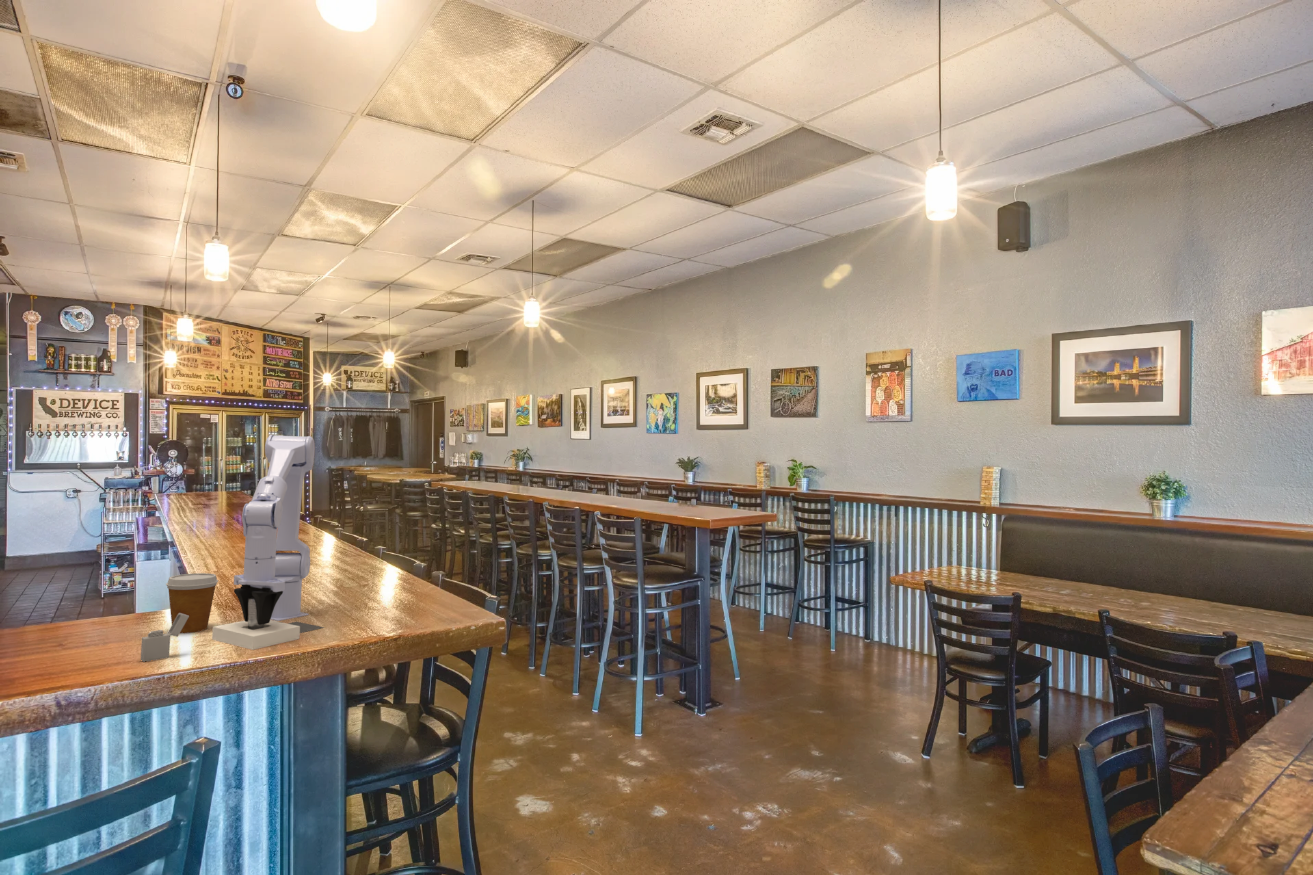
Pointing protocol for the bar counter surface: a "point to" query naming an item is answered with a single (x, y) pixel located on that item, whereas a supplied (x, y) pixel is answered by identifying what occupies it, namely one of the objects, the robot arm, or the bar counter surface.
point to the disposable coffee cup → (192, 599)
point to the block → (255, 634)
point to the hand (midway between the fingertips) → (256, 622)
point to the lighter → (161, 640)
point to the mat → (305, 626)
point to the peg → (253, 615)
